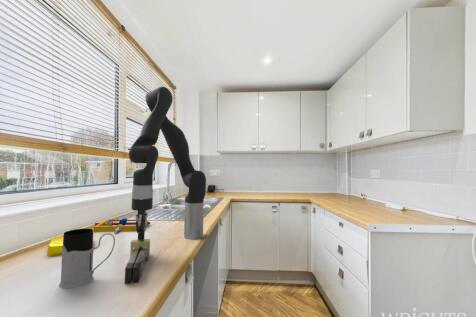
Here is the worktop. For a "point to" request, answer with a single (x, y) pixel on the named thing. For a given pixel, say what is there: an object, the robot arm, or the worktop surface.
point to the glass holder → (78, 258)
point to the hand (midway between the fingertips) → (141, 242)
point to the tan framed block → (141, 244)
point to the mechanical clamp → (121, 226)
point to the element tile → (55, 246)
